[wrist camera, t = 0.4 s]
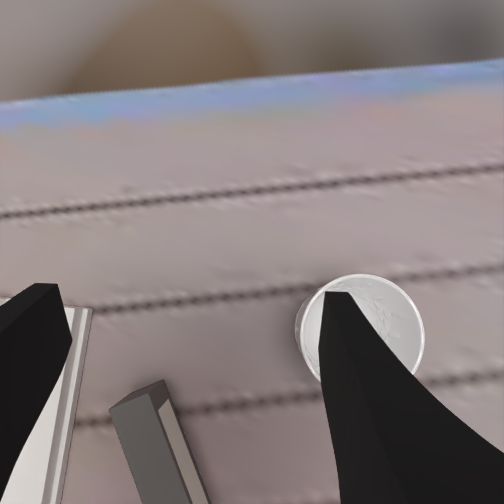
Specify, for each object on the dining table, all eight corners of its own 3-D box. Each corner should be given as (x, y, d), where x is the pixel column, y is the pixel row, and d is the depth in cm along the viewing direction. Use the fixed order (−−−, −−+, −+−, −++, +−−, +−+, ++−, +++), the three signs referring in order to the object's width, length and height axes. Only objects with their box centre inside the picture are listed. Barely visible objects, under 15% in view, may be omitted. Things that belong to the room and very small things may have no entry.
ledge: (55, 532, 36) (38, 552, 33) (-55, 517, 36) (-82, 536, 33) (92, 308, 38) (79, 309, 35) (-12, 295, 39) (-34, 294, 36)
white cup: (268, 330, 38) (274, 339, 28) (329, 262, 39) (357, 248, 29) (337, 395, 38) (368, 427, 28) (398, 325, 38) (450, 332, 29)
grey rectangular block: (217, 518, 37) (211, 560, 31) (182, 534, 37) (169, 578, 31) (164, 378, 38) (148, 392, 32) (130, 393, 38) (107, 410, 32)
